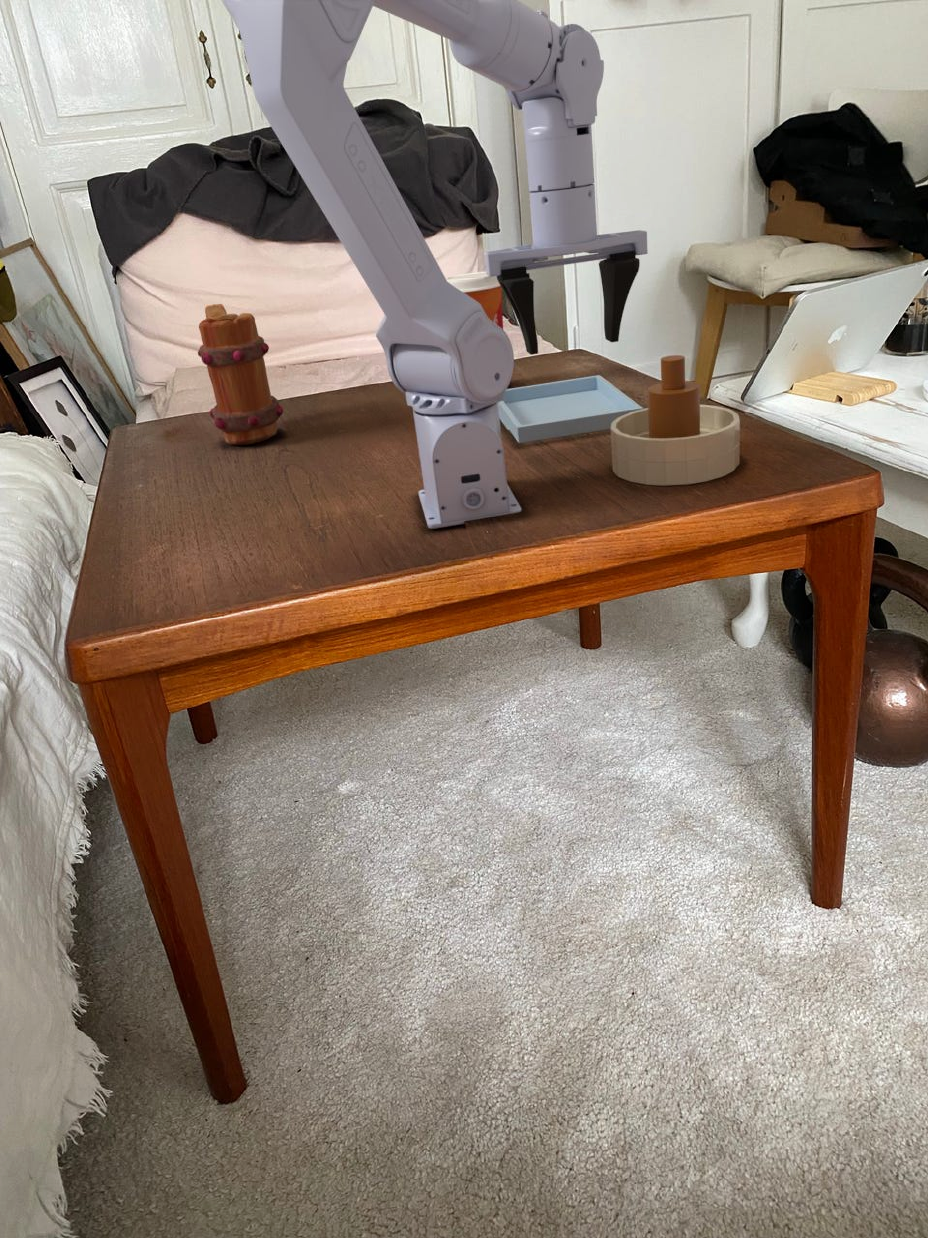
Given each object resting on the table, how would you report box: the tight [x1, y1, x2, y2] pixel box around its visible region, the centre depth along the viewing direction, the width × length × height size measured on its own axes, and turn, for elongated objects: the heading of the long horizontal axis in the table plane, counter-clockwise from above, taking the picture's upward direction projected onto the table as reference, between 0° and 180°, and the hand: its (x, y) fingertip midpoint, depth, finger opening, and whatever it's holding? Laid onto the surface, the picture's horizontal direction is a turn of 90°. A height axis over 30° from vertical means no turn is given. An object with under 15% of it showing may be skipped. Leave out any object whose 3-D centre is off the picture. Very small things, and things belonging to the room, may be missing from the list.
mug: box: [197, 303, 284, 446], centre depth 112 cm, size 15×8×15 cm, turn 22°
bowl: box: [610, 403, 741, 487], centre depth 84 cm, size 11×11×4 cm
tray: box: [498, 374, 644, 444], centre depth 105 cm, size 17×13×2 cm
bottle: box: [647, 354, 701, 438], centre depth 83 cm, size 4×4×10 cm
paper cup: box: [446, 271, 504, 330], centre depth 119 cm, size 8×8×14 cm
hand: (572, 346), depth 89 cm, fingers open, 7 cm apart
